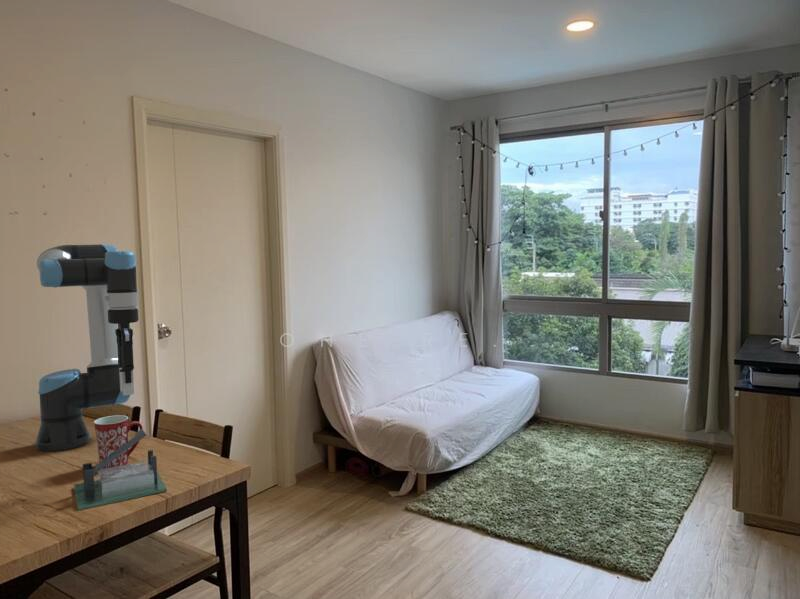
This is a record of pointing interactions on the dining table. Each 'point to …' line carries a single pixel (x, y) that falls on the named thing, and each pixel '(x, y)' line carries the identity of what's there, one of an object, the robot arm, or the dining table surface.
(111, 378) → the robot arm
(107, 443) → the mug
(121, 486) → the heatsink assembly
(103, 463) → the strap
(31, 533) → the dining table surface
